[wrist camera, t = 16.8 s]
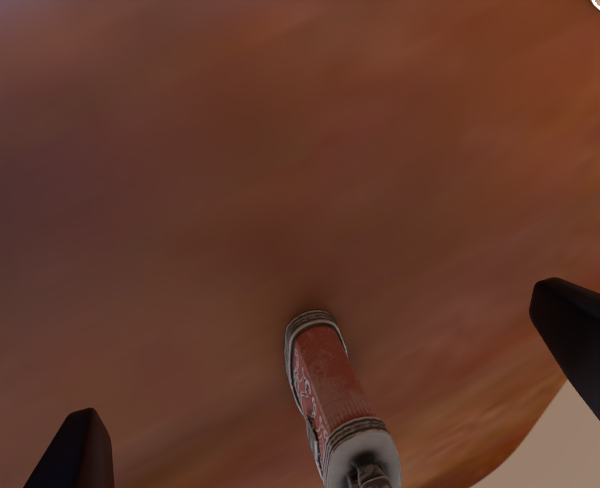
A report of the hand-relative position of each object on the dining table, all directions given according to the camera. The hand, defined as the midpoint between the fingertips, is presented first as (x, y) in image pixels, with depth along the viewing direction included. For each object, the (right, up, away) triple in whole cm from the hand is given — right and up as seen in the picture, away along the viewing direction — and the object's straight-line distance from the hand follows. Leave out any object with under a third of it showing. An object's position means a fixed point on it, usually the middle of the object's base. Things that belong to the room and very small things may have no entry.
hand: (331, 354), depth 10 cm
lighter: (0, -4, +18) cm, 19 cm away
